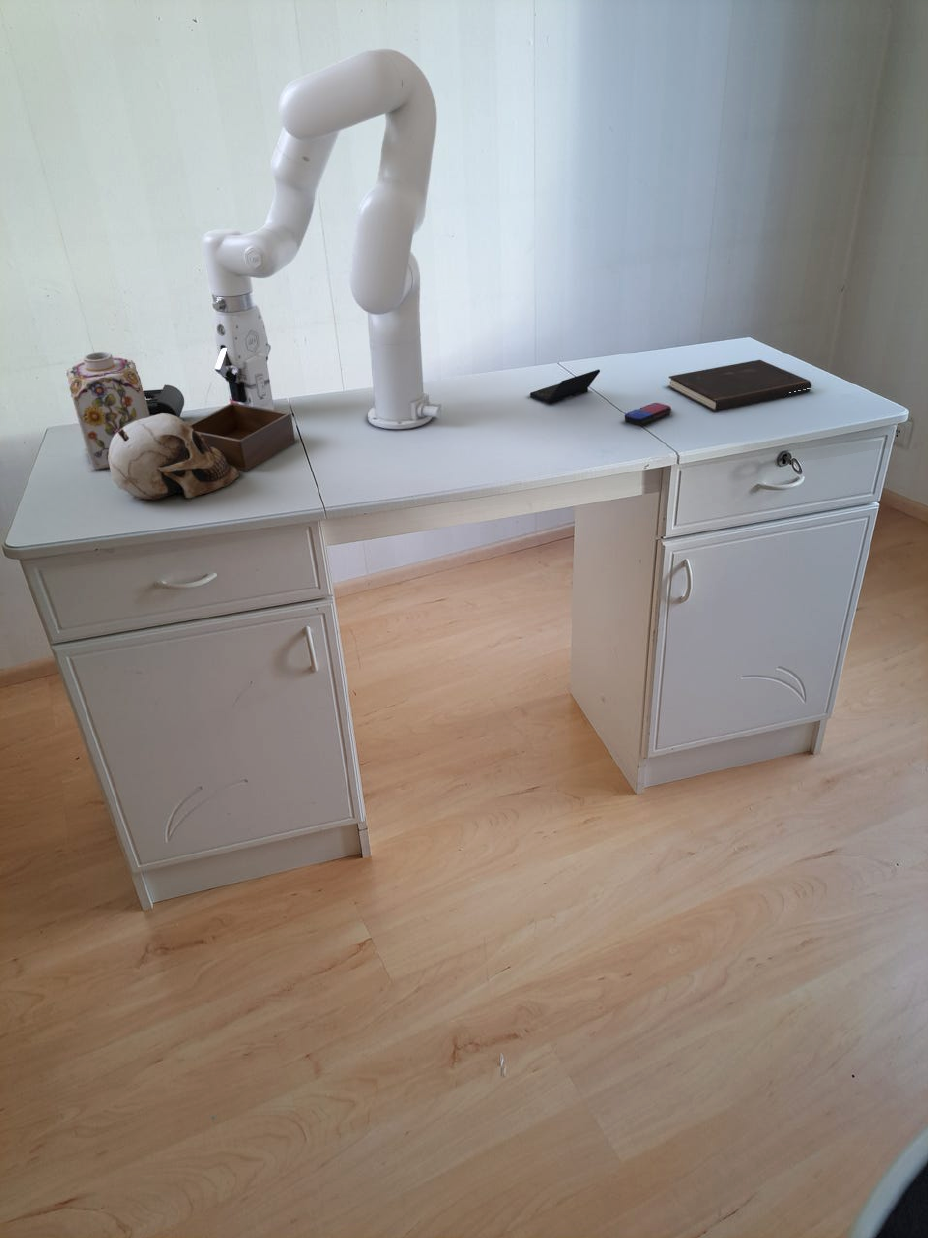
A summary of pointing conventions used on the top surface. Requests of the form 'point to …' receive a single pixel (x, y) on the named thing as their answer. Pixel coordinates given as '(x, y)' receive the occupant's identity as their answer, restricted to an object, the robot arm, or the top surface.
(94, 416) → the decorative jar
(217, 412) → the desk box
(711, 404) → the hardcover book
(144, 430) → the coin bank
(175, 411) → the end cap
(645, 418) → the eraser
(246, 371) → the ink box
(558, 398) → the handheld gaming console
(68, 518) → the top surface
